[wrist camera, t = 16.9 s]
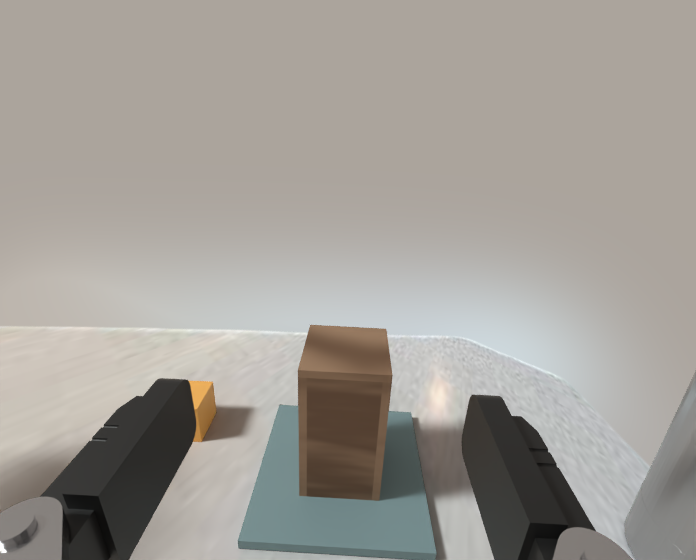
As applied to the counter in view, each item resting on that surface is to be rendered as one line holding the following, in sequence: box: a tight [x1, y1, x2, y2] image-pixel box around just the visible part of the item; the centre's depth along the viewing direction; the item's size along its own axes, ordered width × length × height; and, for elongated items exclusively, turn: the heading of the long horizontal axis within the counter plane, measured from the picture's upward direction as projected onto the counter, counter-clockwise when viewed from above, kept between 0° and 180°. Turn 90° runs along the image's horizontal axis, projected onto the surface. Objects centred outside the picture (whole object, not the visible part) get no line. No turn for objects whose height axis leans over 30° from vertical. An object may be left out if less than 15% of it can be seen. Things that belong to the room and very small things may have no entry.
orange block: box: [189, 381, 216, 442], centre depth 36 cm, size 4×4×4 cm
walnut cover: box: [298, 325, 392, 501], centre depth 30 cm, size 6×6×12 cm
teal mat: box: [238, 405, 437, 560], centre depth 32 cm, size 14×14×1 cm
